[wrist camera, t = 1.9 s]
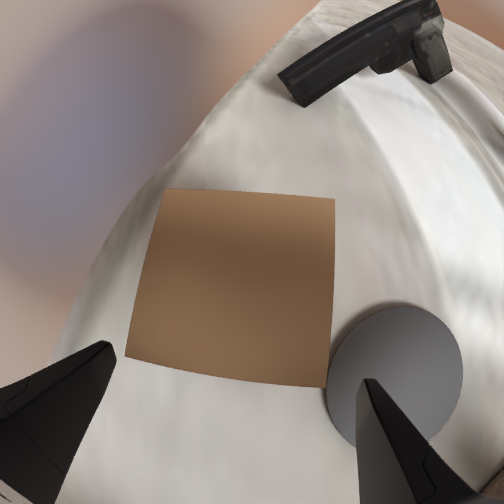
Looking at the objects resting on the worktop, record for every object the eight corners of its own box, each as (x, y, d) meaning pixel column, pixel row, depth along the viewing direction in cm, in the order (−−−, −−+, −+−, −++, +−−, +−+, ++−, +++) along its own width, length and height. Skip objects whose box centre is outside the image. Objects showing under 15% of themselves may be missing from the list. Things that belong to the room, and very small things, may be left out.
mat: (420, 467, 14) (423, 469, 13) (296, 423, 17) (297, 424, 16) (474, 339, 17) (478, 338, 17) (366, 284, 20) (368, 281, 19)
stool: (295, 375, 18) (325, 387, 7) (209, 365, 19) (124, 356, 8) (303, 293, 20) (334, 199, 9) (222, 285, 21) (165, 188, 10)
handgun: (322, 139, 37) (274, 71, 25) (441, 61, 29) (433, -16, 16) (332, 150, 36) (285, 82, 24) (452, 70, 28) (448, -8, 15)
